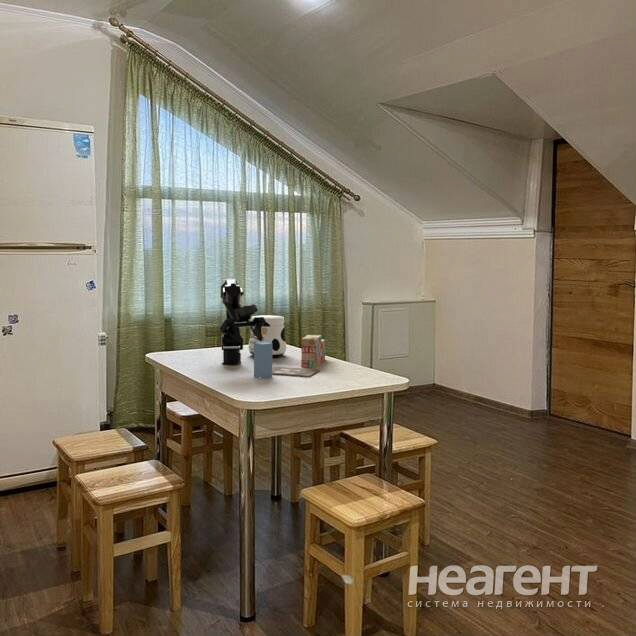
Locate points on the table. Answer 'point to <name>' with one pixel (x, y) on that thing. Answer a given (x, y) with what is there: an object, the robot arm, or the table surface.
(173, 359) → the table surface
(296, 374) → the letter board
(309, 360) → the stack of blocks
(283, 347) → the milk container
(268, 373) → the blue pillar
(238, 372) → the table surface
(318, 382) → the table surface
